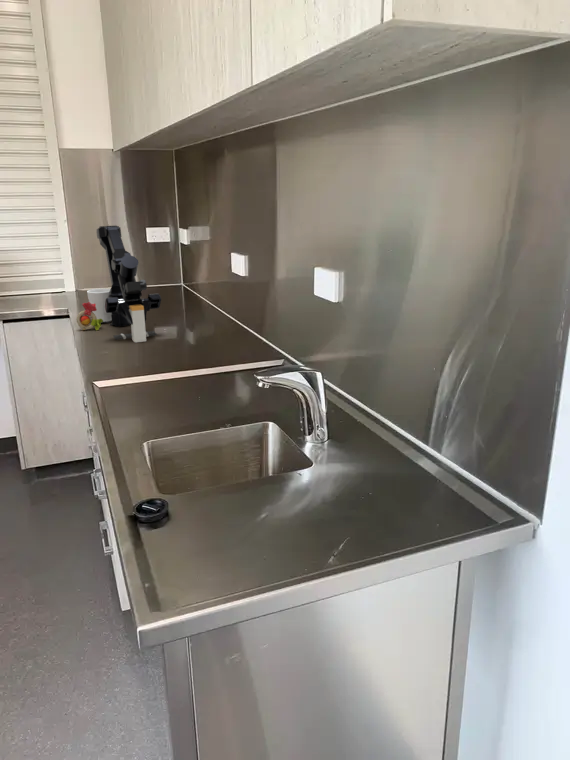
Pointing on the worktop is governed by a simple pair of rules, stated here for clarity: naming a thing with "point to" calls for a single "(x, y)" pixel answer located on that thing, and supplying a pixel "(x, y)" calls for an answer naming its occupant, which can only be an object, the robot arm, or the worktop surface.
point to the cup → (100, 303)
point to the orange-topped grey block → (138, 323)
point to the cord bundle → (125, 336)
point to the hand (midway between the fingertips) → (138, 323)
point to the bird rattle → (85, 319)
